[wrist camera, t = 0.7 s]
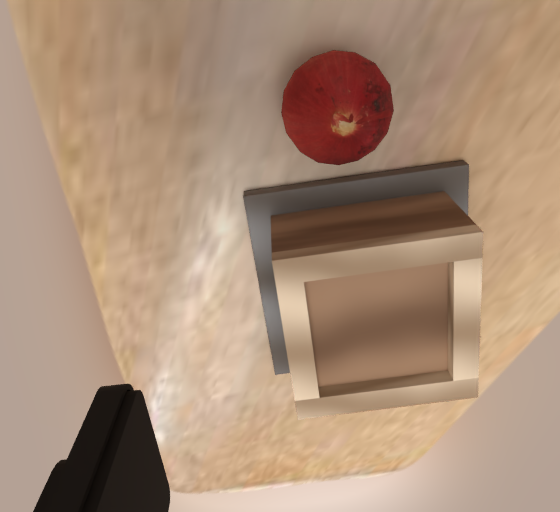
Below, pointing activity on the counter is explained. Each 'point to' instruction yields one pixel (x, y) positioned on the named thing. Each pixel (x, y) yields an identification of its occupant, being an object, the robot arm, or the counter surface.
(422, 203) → the open square box
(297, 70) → the pomegranate
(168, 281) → the counter surface
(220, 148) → the counter surface
